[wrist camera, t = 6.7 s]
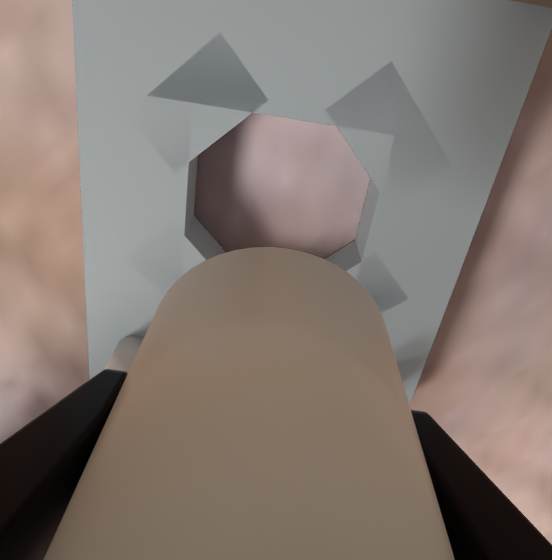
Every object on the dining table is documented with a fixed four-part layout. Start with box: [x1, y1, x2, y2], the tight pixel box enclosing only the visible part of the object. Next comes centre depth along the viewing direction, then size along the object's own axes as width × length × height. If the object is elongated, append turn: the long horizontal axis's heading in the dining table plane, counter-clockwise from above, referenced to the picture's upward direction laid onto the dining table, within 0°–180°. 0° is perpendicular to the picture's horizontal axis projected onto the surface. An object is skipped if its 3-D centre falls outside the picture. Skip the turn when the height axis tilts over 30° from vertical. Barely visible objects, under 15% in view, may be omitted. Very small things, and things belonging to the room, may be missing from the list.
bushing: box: [43, 247, 455, 560], centre depth 7 cm, size 5×5×7 cm
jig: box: [72, 0, 552, 405], centre depth 17 cm, size 19×14×4 cm
